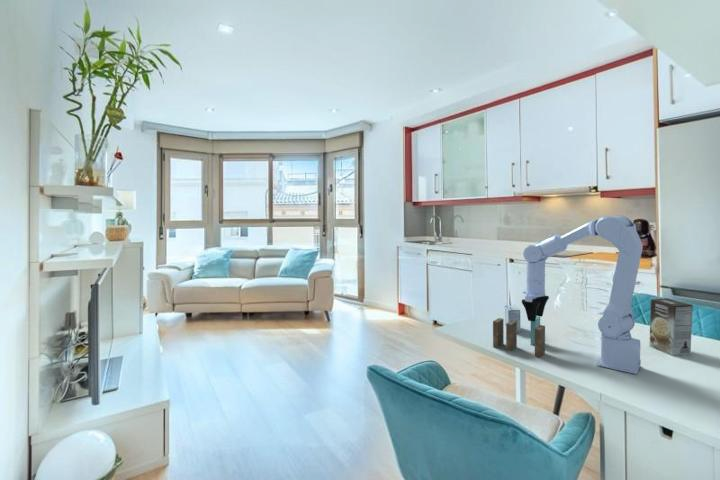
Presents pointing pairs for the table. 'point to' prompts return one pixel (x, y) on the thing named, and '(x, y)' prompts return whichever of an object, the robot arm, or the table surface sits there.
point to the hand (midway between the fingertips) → (535, 318)
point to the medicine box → (512, 315)
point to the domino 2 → (533, 326)
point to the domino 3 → (539, 341)
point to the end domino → (498, 333)
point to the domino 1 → (511, 335)
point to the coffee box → (671, 326)
